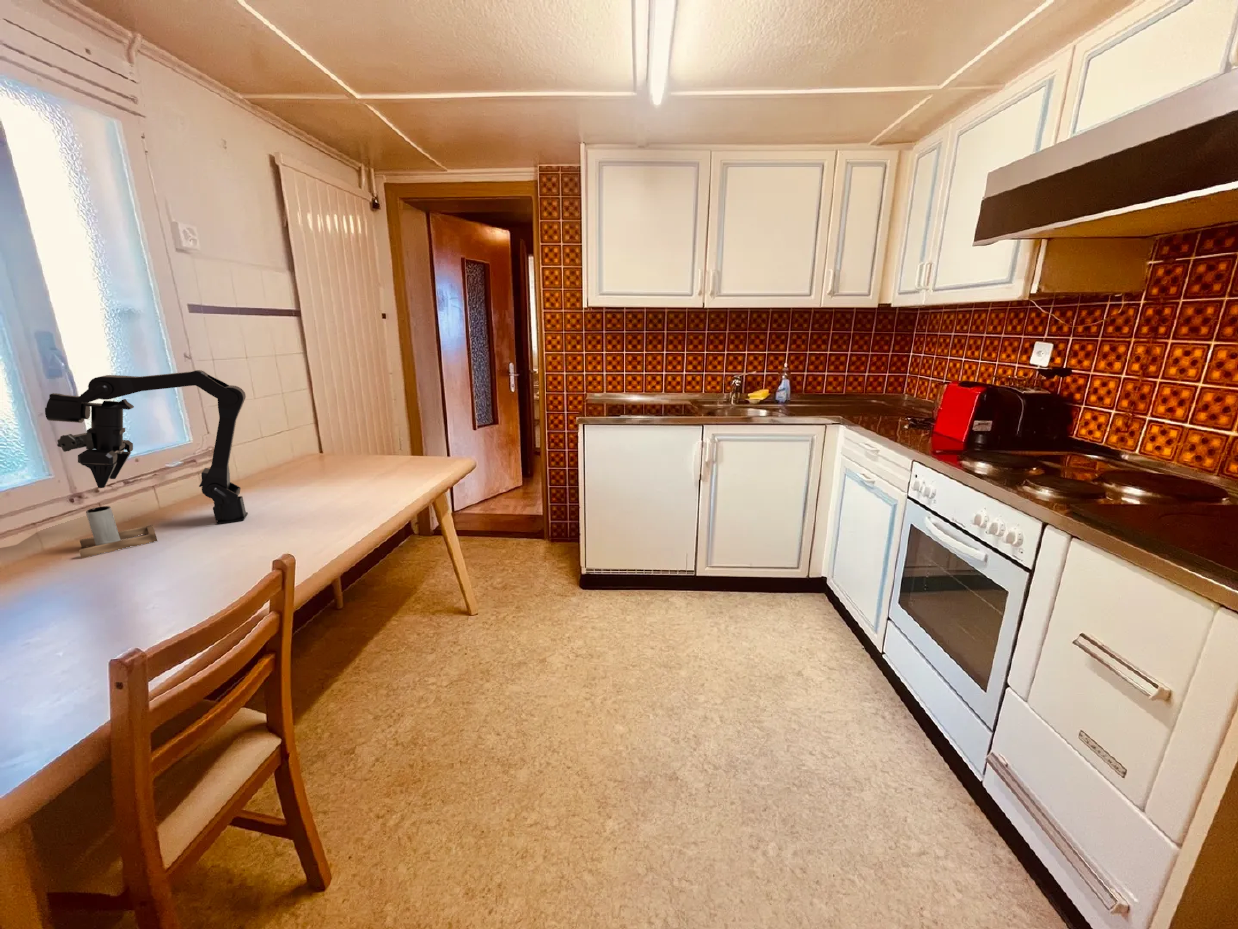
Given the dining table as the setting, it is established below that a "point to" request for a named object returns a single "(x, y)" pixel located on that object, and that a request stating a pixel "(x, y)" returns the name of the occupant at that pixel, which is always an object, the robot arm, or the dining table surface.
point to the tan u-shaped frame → (119, 544)
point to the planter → (103, 525)
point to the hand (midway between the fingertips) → (107, 483)
